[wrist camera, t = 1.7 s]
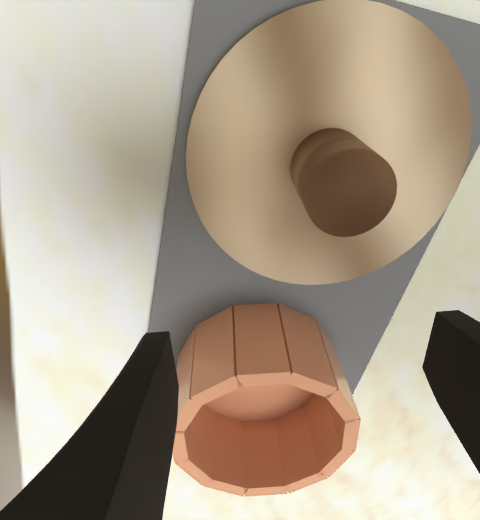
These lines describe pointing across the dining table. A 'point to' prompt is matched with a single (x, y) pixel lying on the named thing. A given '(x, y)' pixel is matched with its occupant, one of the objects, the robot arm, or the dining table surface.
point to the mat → (243, 279)
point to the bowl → (262, 402)
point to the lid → (328, 141)
